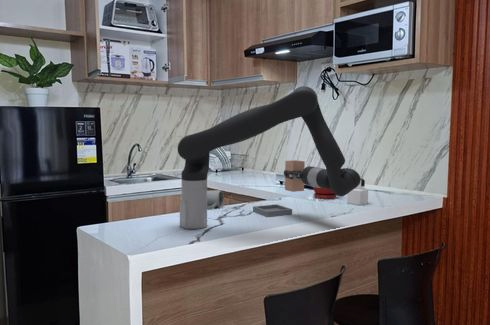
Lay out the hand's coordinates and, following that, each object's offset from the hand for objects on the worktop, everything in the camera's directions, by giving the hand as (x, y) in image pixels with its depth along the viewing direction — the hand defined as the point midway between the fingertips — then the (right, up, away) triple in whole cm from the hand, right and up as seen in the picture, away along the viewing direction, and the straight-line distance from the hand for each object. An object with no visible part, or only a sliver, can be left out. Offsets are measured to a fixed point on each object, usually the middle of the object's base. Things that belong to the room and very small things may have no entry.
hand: (291, 172), depth 176 cm
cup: (+1, -7, -2) cm, 7 cm away
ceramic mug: (-34, -16, +16) cm, 41 cm away
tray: (-7, -17, +5) cm, 19 cm away
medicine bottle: (+35, -16, +28) cm, 47 cm away
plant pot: (+22, -14, +43) cm, 51 cm away
